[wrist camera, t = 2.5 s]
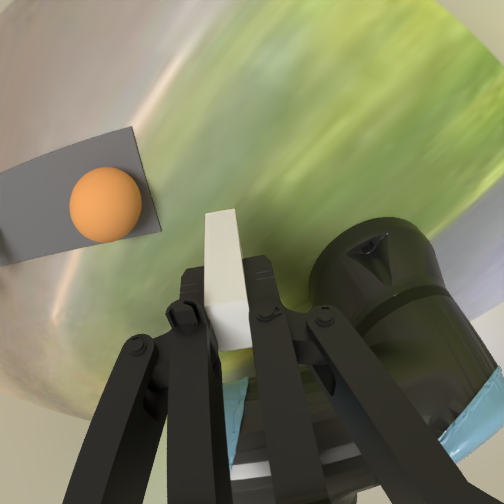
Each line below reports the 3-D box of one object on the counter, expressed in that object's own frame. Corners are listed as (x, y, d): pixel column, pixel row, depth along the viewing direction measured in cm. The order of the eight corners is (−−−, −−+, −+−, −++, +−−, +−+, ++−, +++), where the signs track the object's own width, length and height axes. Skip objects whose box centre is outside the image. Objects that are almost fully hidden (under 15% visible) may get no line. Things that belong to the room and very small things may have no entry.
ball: (152, 163, 25) (138, 193, 20) (142, 224, 28) (129, 264, 23) (86, 151, 23) (58, 179, 19) (82, 212, 27) (59, 249, 22)
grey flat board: (131, 126, 23) (131, 126, 23) (161, 230, 29) (161, 231, 29) (-61, 204, 23) (-62, 205, 22) (-26, 272, 28) (-27, 273, 28)
